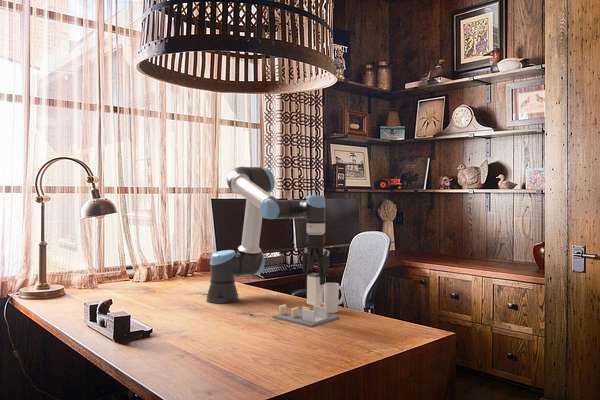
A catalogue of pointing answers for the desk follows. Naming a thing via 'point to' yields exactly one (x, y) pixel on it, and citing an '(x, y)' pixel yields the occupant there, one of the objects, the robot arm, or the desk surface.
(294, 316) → the board
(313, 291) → the block
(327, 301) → the mug
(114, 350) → the desk surface
